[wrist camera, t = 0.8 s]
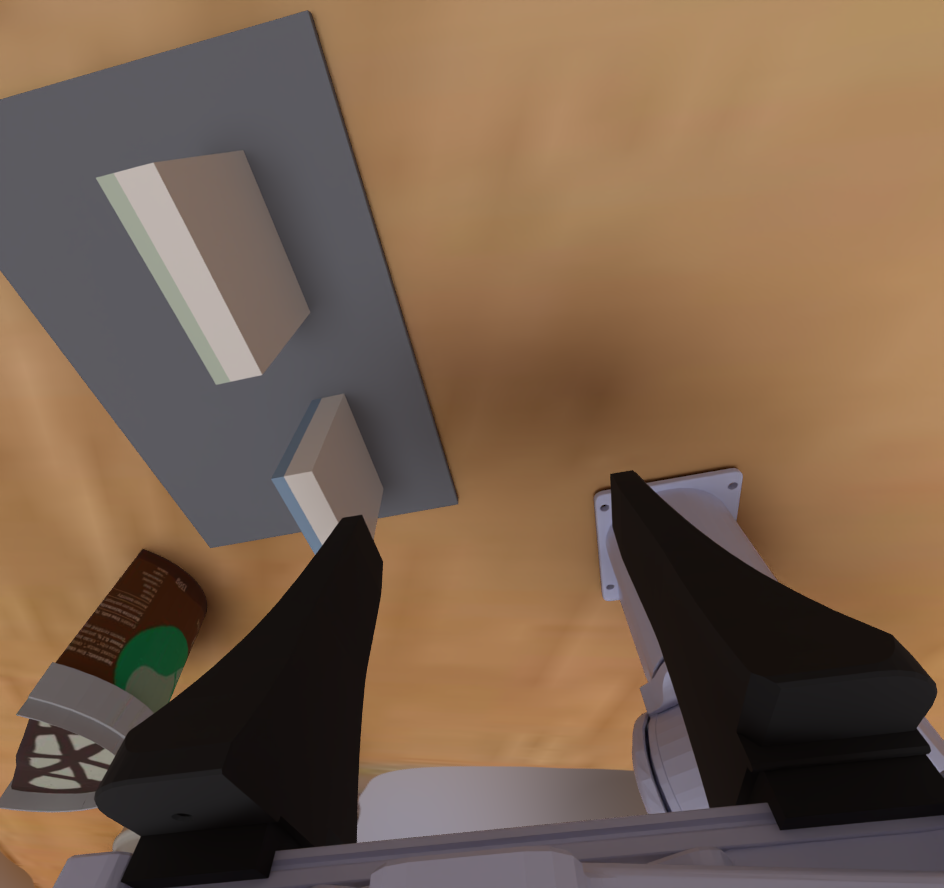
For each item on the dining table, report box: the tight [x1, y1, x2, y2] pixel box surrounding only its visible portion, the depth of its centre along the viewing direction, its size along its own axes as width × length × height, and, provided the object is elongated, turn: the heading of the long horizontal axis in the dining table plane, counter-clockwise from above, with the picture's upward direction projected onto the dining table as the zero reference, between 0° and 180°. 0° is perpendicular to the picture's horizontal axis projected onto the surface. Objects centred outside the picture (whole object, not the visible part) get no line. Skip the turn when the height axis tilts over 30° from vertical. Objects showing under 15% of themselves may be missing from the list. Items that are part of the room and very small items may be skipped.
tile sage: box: [96, 150, 310, 385], centre depth 16 cm, size 6×2×6 cm, turn 12°
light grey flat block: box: [271, 394, 383, 555], centre depth 22 cm, size 6×2×6 cm, turn 12°
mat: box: [0, 10, 458, 548], centre depth 21 cm, size 21×15×1 cm
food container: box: [0, 549, 207, 812], centre depth 27 cm, size 12×6×10 cm, turn 147°
